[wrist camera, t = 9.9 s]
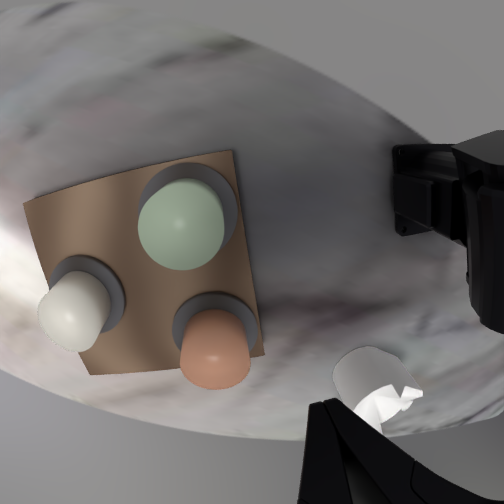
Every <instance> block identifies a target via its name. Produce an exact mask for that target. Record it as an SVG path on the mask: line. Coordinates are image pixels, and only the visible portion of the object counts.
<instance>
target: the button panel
mask: <svg viewBox="0 0 504 504" xmlns="http://www.w3.org/2000/svg"><path fill="white" fill-rule="evenodd" d="M182 178H191V179H196V180H200V181H202V182H204V183H206V184H207V185H209V186H210V187H211V188H212V189H213V190H214V191H215V192H216V193H217V195H218V197H219V198H220V201H221V203H222V207H223V217H224V237H223V241H222V244H221V246H220V248H219V250H218V252H217V253H216V254H215V256H214V257H213V258H212V259H211V260H210V261H208V262H207V263H205V264H204V265H202V266H200V267H197V268H195V269H191V270H173V269H169V268H166V267H164V266H162V265H160V264H158V263H157V262H155V261H154V260H153V259H152V258H151V257H150V256H149V255H148V254H147V253H146V251H145V250H144V248H143V246H142V244H141V241H140V238H139V234H138V220H139V216H140V213H141V210H142V208H143V206H144V205H145V203H146V202H147V201H148V200H149V199H150V197H151V196H153V195H154V194H155V193H156V192H158V191H159V190H160V189H161V188H162V187H164V186H165V185H166V184H168V183H170V182H172V181H174V180H177V179H182ZM23 205H24V210H25V214H26V217H27V221H28V225H29V228H30V232H31V235H32V239H33V242H34V245H35V248H36V252H37V255H38V258H39V261H40V264H41V267H42V269H43V272H44V275H45V278H46V280H47V283H48V286H49V291H50V290H51V289H52V288H53V287H54V285H55V284H56V283H57V282H58V281H59V280H60V279H61V278H62V277H63V276H64V275H66V274H67V273H69V272H72V271H82V272H86V273H89V274H91V275H93V276H94V277H96V278H97V279H98V280H99V281H100V282H101V283H102V284H103V285H104V287H105V288H106V290H107V292H108V294H109V296H110V300H111V311H110V314H109V316H108V318H107V320H106V322H105V324H104V325H103V327H102V329H101V331H100V333H99V335H98V337H97V339H96V341H95V343H94V344H93V346H92V347H91V348H89V349H88V350H86V351H83V352H78V353H79V355H80V357H81V359H82V361H83V363H84V365H85V367H86V368H87V370H88V372H89V374H90V375H104V374H121V373H135V372H147V371H158V370H168V369H177V368H180V357H181V349H182V342H183V335H184V329H185V326H186V324H187V322H188V321H189V319H190V318H191V317H193V316H194V315H195V314H197V313H199V312H201V311H204V310H209V309H219V310H224V311H227V312H230V313H232V314H234V315H235V316H236V317H238V318H239V319H240V320H241V322H242V323H243V325H244V327H245V331H246V337H247V344H248V350H249V356H250V358H252V357H258V356H263V355H265V353H264V347H263V341H262V335H261V329H260V323H259V317H258V311H257V304H256V298H255V292H254V286H253V280H252V274H251V268H250V261H249V255H248V249H247V243H246V237H245V231H244V224H243V218H242V212H241V206H240V199H239V193H238V187H237V181H236V174H235V168H234V162H233V156H232V150H225V151H220V152H214V153H208V154H203V155H197V156H192V157H187V158H182V159H177V160H172V161H168V162H163V163H159V164H154V165H150V166H146V167H141V168H137V169H133V170H129V171H125V172H121V173H117V174H114V175H110V176H106V177H102V178H99V179H95V180H92V181H88V182H85V183H81V184H78V185H75V186H71V187H68V188H65V189H62V190H59V191H56V192H53V193H50V194H47V195H44V196H41V197H38V198H35V199H32V200H30V201H27V202H25V203H23Z"/></svg>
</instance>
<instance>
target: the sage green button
mask: <svg viewBox="0 0 504 504" xmlns="http://www.w3.org/2000/svg"><path fill="white" fill-rule="evenodd" d="M138 234H139V238H140V241H141V244H142V246H143V248H144V250H145V251H146V253H147V254H148V255H149V256H150V257H151V258H152V259H153V260H154V261H155V262H157V263H158V264H160V265H162V266H164V267H166V268H169V269H173V270H191V269H195V268H197V267H200V266H202V265H204V264H205V263H207V262H208V261H210V260H211V259H212V258H213V257H214V256H215V254H216V253H217V252H218V250H219V248H220V246H221V244H222V241H223V237H224V217H223V207H222V203H221V201H220V198H219V197H218V195H217V193H216V192H215V191H214V190H213V189H212V188H211V187H210V186H209V185H207V184H206V183H204V182H202V181H200V180H196V179H191V178H182V179H177V180H174V181H172V182H170V183H168V184H166V185H165V186H164V187H162V188H161V189H160V190H159V191H158V192H156V193H155V194H154V195H153V196H151V197H150V199H149V200H148V201H147V202H146V203H145V205H144V206H143V208H142V210H141V213H140V216H139V220H138Z"/></svg>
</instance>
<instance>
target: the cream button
mask: <svg viewBox="0 0 504 504" xmlns="http://www.w3.org/2000/svg"><path fill="white" fill-rule="evenodd" d="M110 311H111V300H110V296H109V294H108V292H107V290H106V288H105V287H104V285H103V284H102V283H101V282H100V281H99V280H98V279H97V278H96V277H94V276H93V275H91V274H89V273H86V272H82V271H72V272H69V273H67V274H66V275H64V276H63V277H62V278H61V279H60V280H59V281H58V282H57V283H56V284H55V285H54V287H53V288H52V289H51V290H50V291H49V292H48V293H47V294H46V295H45V296H44V297H43V298H42V299H41V301H40V302H39V305H38V311H37V313H38V320H39V323H40V326H41V328H42V329H43V331H44V333H45V334H46V335H47V337H48V338H49V339H50V340H51V341H52V342H53V343H55V344H56V345H57V346H59V347H61V348H63V349H65V350H68V351H72V352H83V351H86V350H88V349H89V348H91V347H92V346H93V344H94V343H95V341H96V339H97V337H98V335H99V333H100V331H101V329H102V327H103V325H104V324H105V322H106V320H107V318H108V316H109V314H110Z"/></svg>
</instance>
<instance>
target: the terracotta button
mask: <svg viewBox="0 0 504 504" xmlns="http://www.w3.org/2000/svg"><path fill="white" fill-rule="evenodd" d="M250 364H251V363H250V356H249V350H248V344H247V337H246V331H245V327H244V325H243V323H242V322H241V320H240V319H239V318H238V317H236V316H235V315H234V314H232V313H230V312H227V311H224V310H219V309H209V310H204V311H201V312H199V313H197V314H195V315H194V316H193V317H191V318H190V319H189V321H188V322H187V324H186V326H185V329H184V335H183V342H182V349H181V357H180V368H181V371H182V373H183V374H184V376H185V377H186V378H187V379H188V380H189V381H190V382H192V383H193V384H195V385H197V386H199V387H202V388H206V389H213V390H219V389H226V388H229V387H232V386H235V385H236V384H238V383H240V382H241V381H242V380H243V379H244V378H245V377H246V376H247V374H248V372H249V370H250Z"/></svg>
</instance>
